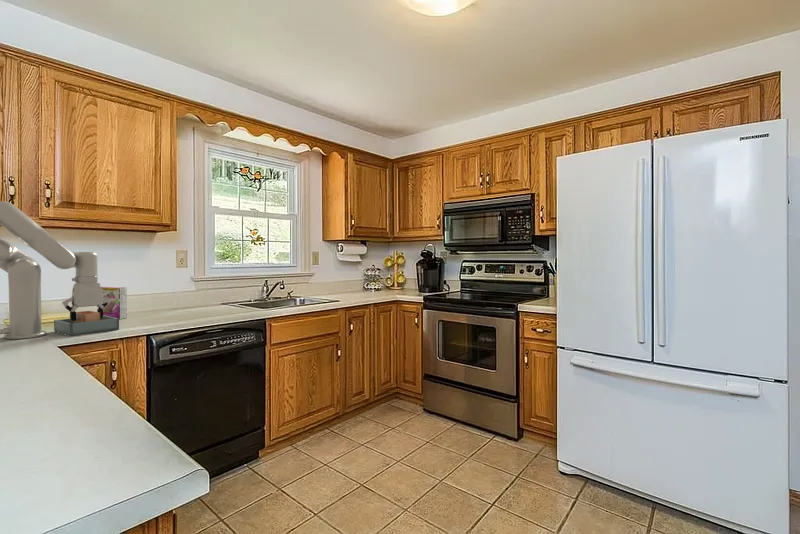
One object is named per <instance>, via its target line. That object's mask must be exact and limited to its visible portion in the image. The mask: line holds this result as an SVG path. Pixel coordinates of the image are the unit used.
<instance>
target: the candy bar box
mask: <svg viewBox="0 0 800 534" xmlns="http://www.w3.org/2000/svg"><path fill="white" fill-rule="evenodd" d="M101 291H102V296H104V297H107V298H109V299H110V301H109V302H108V305H107V306H106V307H105V308H104V309H103V315H105V316H109V317H114V318H119V321H121V320H124V319H127V315H128V314H127V311H128V310H127V306H128V305H127V287H126V286H111V285H109V286H101ZM104 301H105V300H103V299H102V304H103V303H104Z"/></svg>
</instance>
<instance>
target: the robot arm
mask: <svg viewBox="0 0 800 534" xmlns="http://www.w3.org/2000/svg"><path fill="white" fill-rule="evenodd" d="M0 226H1V227H3V229H5V230H6V231H8V233H10V234H12V235H13V236H14V237H15V238H16V239H18V240H19V241H20V242H22V243H23V244H24V245H26V246H27V247H29V248H31V249H33V250H34V251H36V252H37V253H38V254H39V255H40V256H42V257H43V258H44V259H46V260H47V261H48V262H50V264H53V266H55V267H56V268H57V269H59V270H69V269H72V268H75V276H74V277H72V278H71V281H72V282H75V283H74V284H73V286H72V291H71V297H69V298H67V299H65V300H63V301H61V304H62V306H63V307H64V308H65V310H68V312H69V318H70V319H71V320H72V321H76V312H77V311H76V310H77V309H78V308H85V307H95V306H96V307H97V310H96V312H99V313H100V318H102V316H103V309H104V308H105V307H106V306H107V305H108V302H109V301H110V299H109V298H107V297H104V296H102V291H101V287H102V286H101V283H100V282H98V254H97V253H96V252H94V251H77V252H74V251H70V250H69V249H67V248H66V247H65V246H64V245H62V244H61V243H60V242H59V241H58V240H57V239H55V238H54V237H53V236H52V235H50V234H49V233H48V231H47V230H46V229H44V228H43V227H42V226H41V225H39V224H38V223H37V221H34V220H33V219H32V218H30V216H28V215H27V214H26V213H25V212H23V211H22V210H21V209H20V208H18V207H17V206H16V205H14V204H13V203H12V202H9V201H1V200H0ZM0 269H1V270H2V271H4V272H6V273H7V281H8V282H7V283H8V309H9V310H8V311H9V312H8V314H9V315H8V316H9V321H8V322H9V325H6V327H4V328H0V335H4V337H3V338H4V339H7V340H20V339H21V340H22V339H24V340H25V339H30V338H31V339H33V338H38V337H42V336H43V337H44V336H46V335H47V331H46V330H43V329H42V287H41V286H42V285H41V284H42V283H41V282H42V268H41V265H40V264H39V262H38V261H37V260H35V259H33V258H32V257H31V256H29V255H28V254H26V253H25V252H23V251H22V250H20V248H18V247H16V246H15V245H13V244H12V243H11V242H9V241H7V240H6V239H5V240H4V239H2V238H0ZM102 299H103V300H105V301H104V303H103V304H102ZM69 303H71V306H70V305H69Z"/></svg>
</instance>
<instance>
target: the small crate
mask: <svg viewBox="0 0 800 534" xmlns="http://www.w3.org/2000/svg"><path fill="white" fill-rule="evenodd" d="M75 312H76V321H74V323H81V322H90V321H98V320H100V313H99V312H97V311H94V310H83V311H82V310H81V311H75Z"/></svg>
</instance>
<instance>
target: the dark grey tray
mask: <svg viewBox="0 0 800 534" xmlns="http://www.w3.org/2000/svg"><path fill="white" fill-rule="evenodd" d="M53 325H54V327H53V332H54V331H55V332H54V333H57V332H59V333H58V334H60V333H63V334H62V335H64V334H66V335H65V336H67V335H69V336H68V337H75V336H76V337H77V336H82V334H83V335H89V334H97V333H98V334H99V333H104V332H105V333H106V332H110V331H111V332H112V331H119V330H120V320H119V318H114V317H109V316H105V315H103V316H102V318H100V320H98V321H90V322H81V323H74V321H72V320H71V319H70V317H69V318H62V319H61V318H60V319H54V320H53Z"/></svg>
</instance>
